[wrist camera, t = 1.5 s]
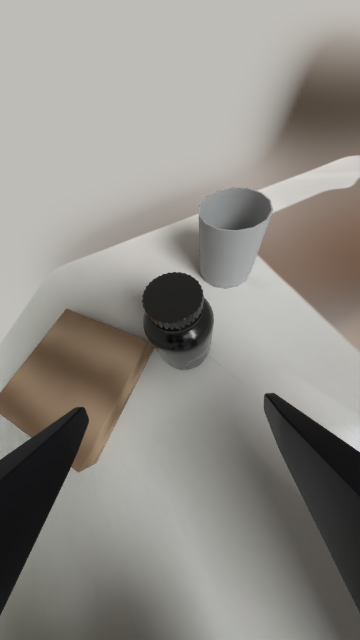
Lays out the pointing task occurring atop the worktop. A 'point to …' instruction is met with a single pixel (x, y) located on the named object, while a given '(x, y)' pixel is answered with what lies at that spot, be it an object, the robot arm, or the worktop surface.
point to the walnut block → (76, 380)
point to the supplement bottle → (178, 320)
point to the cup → (231, 234)
